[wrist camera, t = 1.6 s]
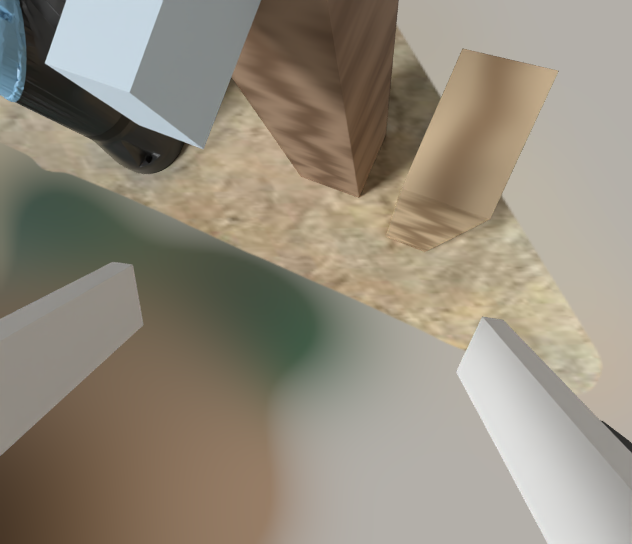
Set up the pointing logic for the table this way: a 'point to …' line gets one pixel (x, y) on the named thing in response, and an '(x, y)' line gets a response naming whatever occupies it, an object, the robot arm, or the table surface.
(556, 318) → the table surface
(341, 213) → the table surface
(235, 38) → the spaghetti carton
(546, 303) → the table surface
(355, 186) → the walnut block
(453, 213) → the oak step
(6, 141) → the table surface
